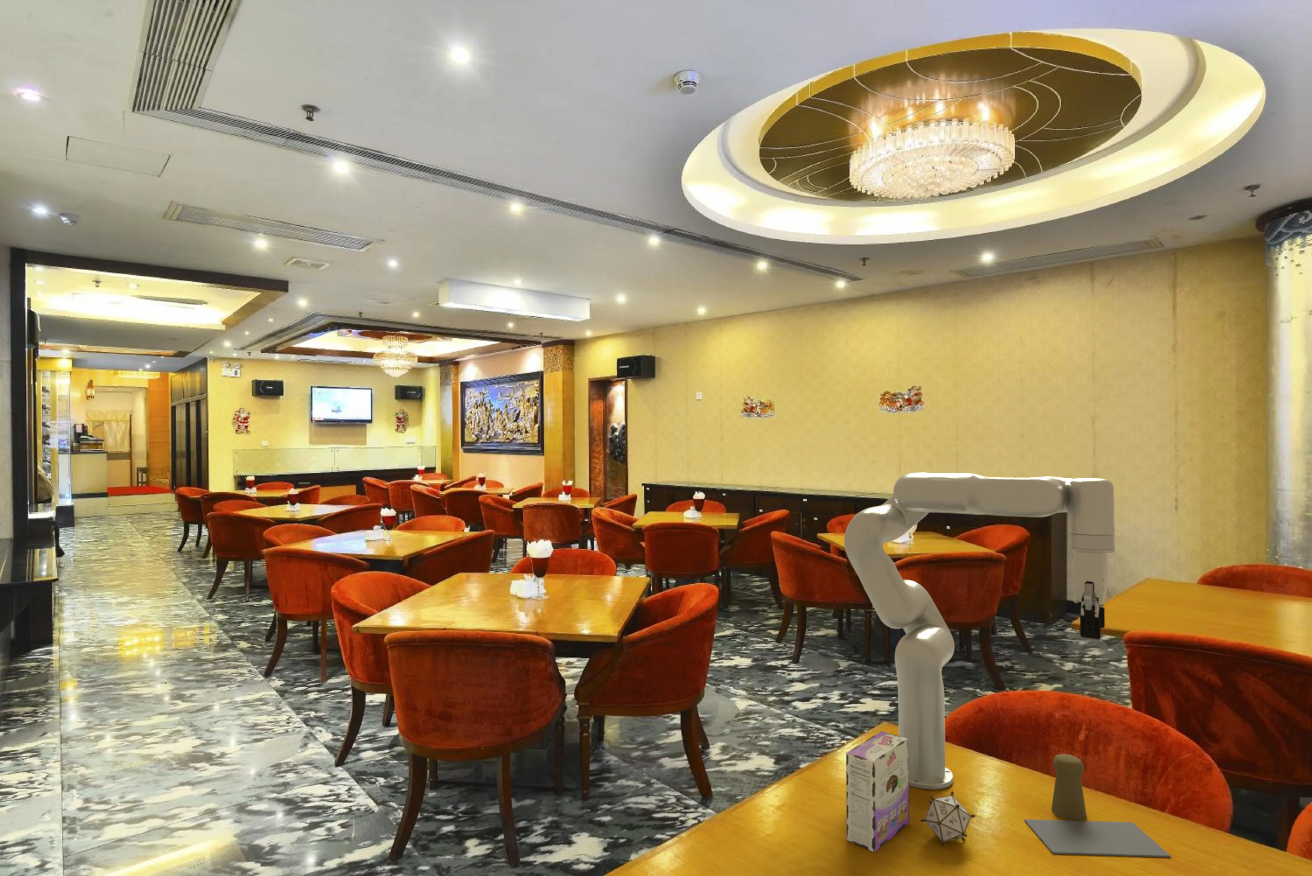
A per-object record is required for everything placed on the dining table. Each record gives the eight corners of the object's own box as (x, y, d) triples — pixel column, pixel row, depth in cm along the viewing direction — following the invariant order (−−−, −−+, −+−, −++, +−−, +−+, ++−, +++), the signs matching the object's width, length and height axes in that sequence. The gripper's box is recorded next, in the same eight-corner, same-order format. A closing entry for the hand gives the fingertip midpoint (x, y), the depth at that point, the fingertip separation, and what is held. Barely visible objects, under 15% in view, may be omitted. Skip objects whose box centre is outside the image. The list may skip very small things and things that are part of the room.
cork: (1047, 813, 139) (1046, 757, 139) (1055, 802, 143) (1055, 747, 143) (1082, 824, 135) (1082, 766, 135) (1090, 812, 139) (1089, 756, 139)
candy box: (881, 813, 139) (881, 729, 139) (910, 824, 135) (909, 738, 135) (845, 840, 130) (844, 750, 130) (874, 853, 125) (873, 760, 126)
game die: (958, 865, 128) (983, 838, 122) (912, 843, 130) (934, 816, 124) (959, 820, 135) (982, 793, 130) (915, 800, 137) (936, 772, 131)
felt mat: (1052, 853, 125) (1052, 852, 125) (1024, 821, 136) (1024, 819, 136) (1170, 857, 124) (1170, 855, 124) (1132, 824, 135) (1132, 822, 135)
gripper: (1073, 536, 145) (1075, 620, 144) (1063, 546, 131) (1064, 639, 130) (1117, 539, 140) (1119, 625, 140) (1111, 549, 126) (1113, 645, 126)
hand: (1092, 632), depth 135 cm, fingers open, 9 cm apart
